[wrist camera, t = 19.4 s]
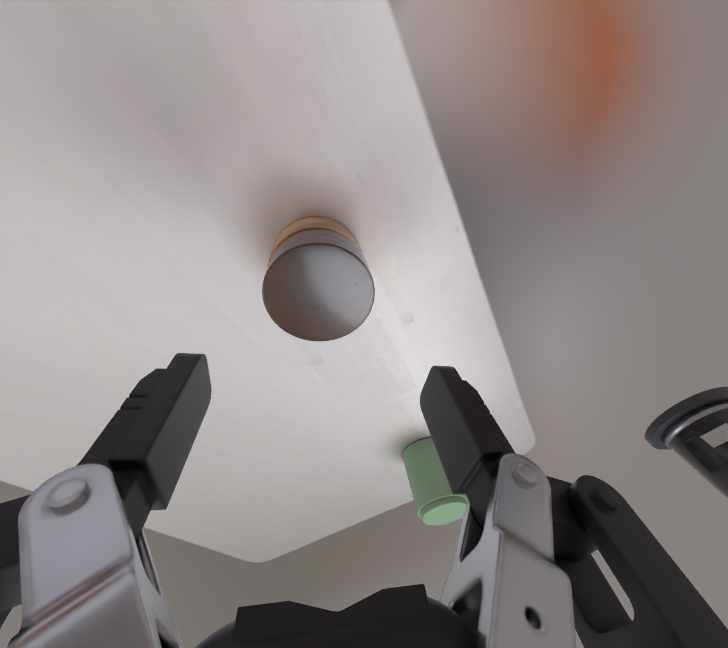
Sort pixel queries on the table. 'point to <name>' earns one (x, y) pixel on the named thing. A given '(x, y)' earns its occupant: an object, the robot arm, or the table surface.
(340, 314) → the walnut chip
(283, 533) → the table surface
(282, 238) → the maple chip
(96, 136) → the table surface
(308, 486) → the table surface
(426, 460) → the green lidded canister
